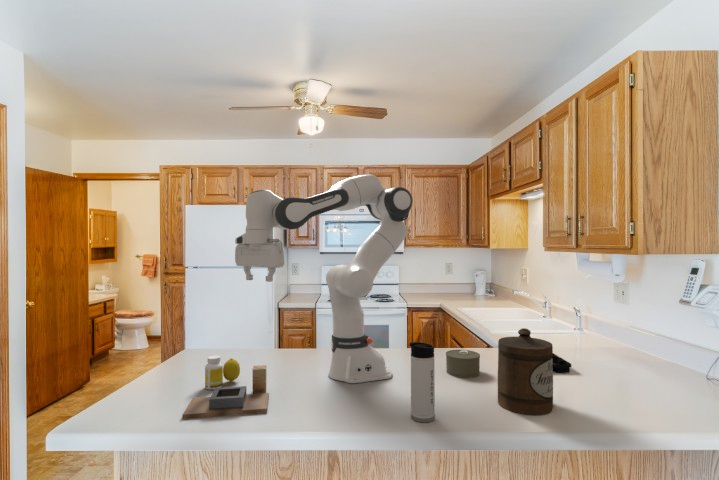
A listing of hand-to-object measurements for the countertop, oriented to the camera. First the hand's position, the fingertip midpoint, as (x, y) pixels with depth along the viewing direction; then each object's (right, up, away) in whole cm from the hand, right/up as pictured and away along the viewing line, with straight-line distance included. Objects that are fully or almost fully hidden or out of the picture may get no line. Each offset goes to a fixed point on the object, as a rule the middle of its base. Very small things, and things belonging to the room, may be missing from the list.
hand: (259, 280), depth 135 cm
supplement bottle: (-14, -35, -2) cm, 38 cm away
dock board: (-4, -34, -18) cm, 39 cm away
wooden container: (+81, -34, -17) cm, 90 cm away
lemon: (-10, -35, +3) cm, 36 cm away
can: (+71, -35, +13) cm, 80 cm away
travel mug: (+50, -34, -26) cm, 66 cm away
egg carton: (+104, -35, +26) cm, 112 cm away
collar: (-4, -33, -18) cm, 38 cm away
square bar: (+2, -35, -7) cm, 35 cm away
